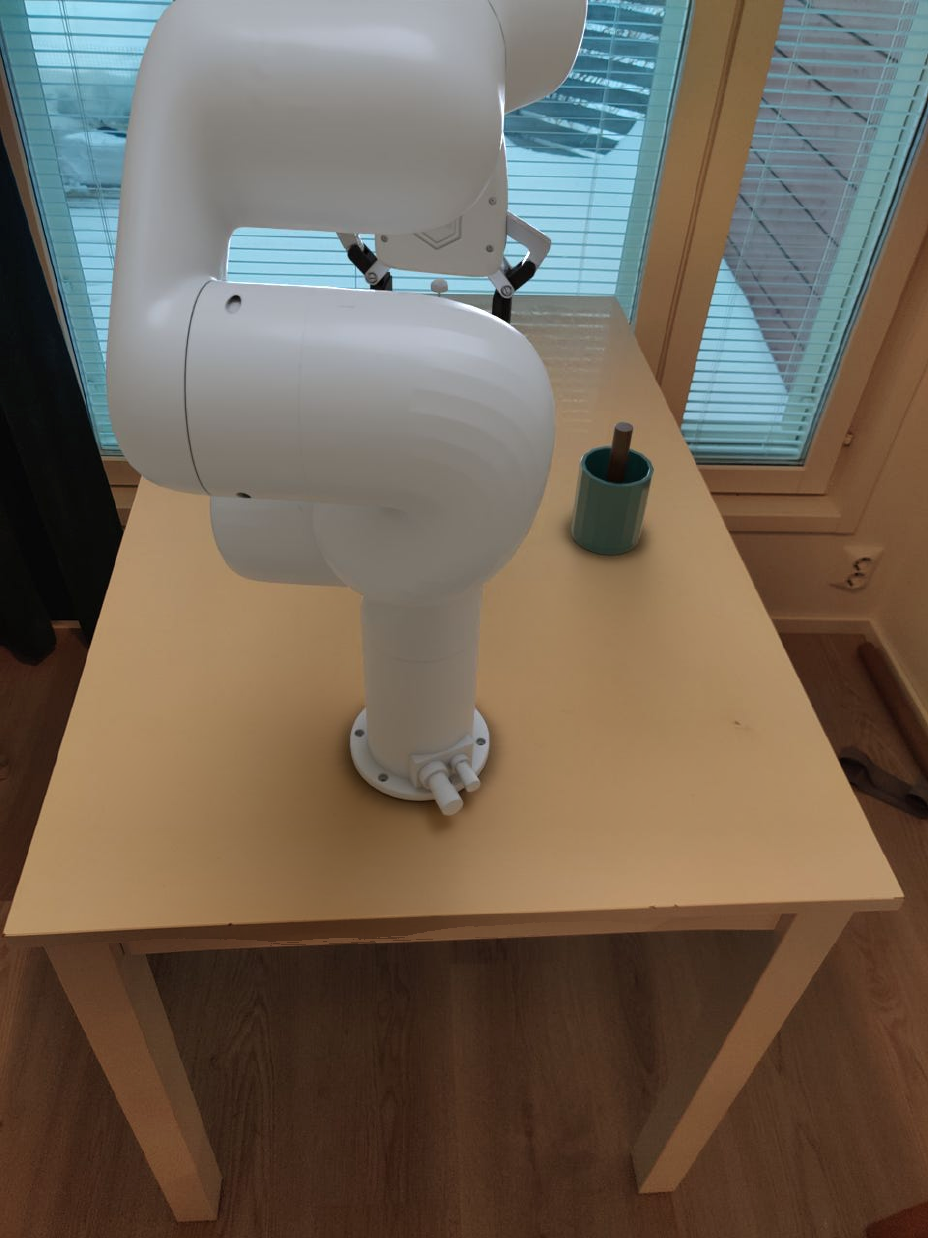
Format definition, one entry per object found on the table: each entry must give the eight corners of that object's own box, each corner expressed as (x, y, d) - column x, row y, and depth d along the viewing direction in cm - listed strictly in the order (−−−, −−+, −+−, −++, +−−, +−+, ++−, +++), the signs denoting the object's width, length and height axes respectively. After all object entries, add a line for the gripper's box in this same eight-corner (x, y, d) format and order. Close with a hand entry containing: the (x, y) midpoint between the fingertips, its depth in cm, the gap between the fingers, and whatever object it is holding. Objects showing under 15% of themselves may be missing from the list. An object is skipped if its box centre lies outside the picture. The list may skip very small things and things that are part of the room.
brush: (628, 527, 109) (647, 427, 100) (609, 541, 107) (627, 439, 98) (603, 514, 111) (620, 414, 102) (584, 527, 109) (600, 426, 100)
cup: (652, 544, 108) (667, 475, 102) (594, 562, 105) (606, 492, 99) (614, 507, 113) (626, 439, 107) (558, 523, 110) (567, 454, 104)
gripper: (315, 113, 66) (330, 340, 77) (559, 133, 64) (537, 361, 76) (341, 86, 71) (351, 302, 83) (566, 104, 70) (545, 321, 81)
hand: (440, 330), depth 79 cm, fingers open, 9 cm apart
